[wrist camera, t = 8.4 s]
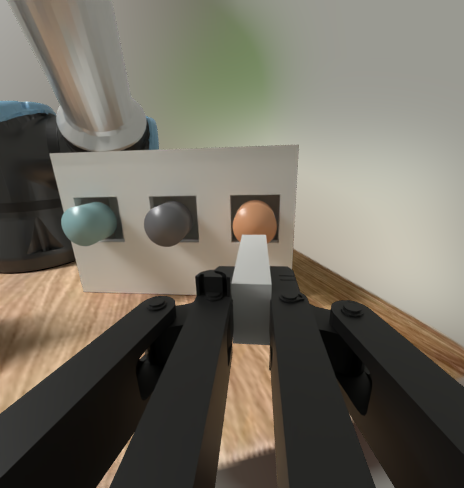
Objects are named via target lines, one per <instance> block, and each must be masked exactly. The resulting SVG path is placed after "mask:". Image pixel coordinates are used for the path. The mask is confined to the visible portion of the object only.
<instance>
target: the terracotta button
mask: <svg viewBox="0 0 464 488" xmlns="http://www.w3.org/2000/svg"><path fill="white" fill-rule="evenodd" d="M276 230H277V222H276V219H275V216H274V213H273V210H272V209H271V207H270V206H269V205H268V204H266V203H265V202H263V201H260V200H251V201H248V202H246V203H244V204H243V205H241V207H240V208H239V209H238V211H237V213H236V215H235V218H234V221H233V232H234V235H235V237H236V238H237V240H238V241H239V242H241V237H242V235H266V239H267V244H268V243H269V242H270V241H271V240H272V239H273V238H274V236H275V234H276Z"/></svg>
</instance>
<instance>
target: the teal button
mask: <svg viewBox="0 0 464 488" xmlns="http://www.w3.org/2000/svg"><path fill="white" fill-rule="evenodd" d="M61 225H62V229H63V231H64V233H65V235H66V236H67V237H68V239H69V240H71V241H72V242H73V243H75V244H77V245H80V246H90V245H93V244H95V243H97V242H99V241H101V240H103V239H105V238H107V237H109V236H111V235H112V234H113V233H114V232H115V230H116V227H117V219H116V216H115V214H114V212H113V211H112V210H111V209H110V208H109V207H108V206H107V205H105V204H103V203H100V202H92V203H88V204H84V205H80V206H75V207H71V208H69V209H67V210H66V211H65V212H64V214H63V216H62V219H61Z"/></svg>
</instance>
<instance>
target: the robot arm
mask: <svg viewBox="0 0 464 488" xmlns="http://www.w3.org/2000/svg"><path fill="white" fill-rule="evenodd" d="M7 1H8V4H9V6H10V7H11V9H12V11H13V13H14V15H15V17H16V19H17V21H18V23H19V25H20V27H21V29H22V31H23V33H24V35H25V37H26V39H27V41H28V43H29V45H30V46H31V48H32V51H33V53H34V55H35V56H36V58H37V60H38V62H39V64H40V66H41V68H42V70H43V72H44V74H45V76H46V78H47V80H48V82H49V84H50V86H51V87H52V90H53V92H54V93H55V95H56V98H57V100H58V102H59V103H60V107H59V108H58V111H57V116H56V113H55V112H54V111H53V109H52V108H51V107H49V106H47V105H44V104H40V103H35V102H18V101H0V272H2V273H14V272H26V271H33V270H39V269H45V268H49V267H54V266H58V265H62V264H65V263H68V262H71V261H74V260H76V259H75V255H74V251H73V247H72V243H71V240H69V239H68V237H67V236H66V235H65V233H64V231H63V229H62V225H61V219H62V216H63V214H64V211H63V207H62V203H61V199H60V195H59V191H58V187H57V182H56V178H55V174H54V170H53V166H52V162H51V158H50V154H49V153H77V152H105V151H133V150H159V144H158V132H157V126H156V122H155V120H154V119H152V118H149V117H147V116H146V115H145V113H144V111H143V108H142V107H141V106H140V104H139V103H138V102H137V101H136V100H134V99H133V98H132V97H131V93H130V89H129V83H128V78H127V73H126V68H125V63H124V58H123V53H122V48H121V43H120V38H119V33H118V28H117V23H116V18H115V13H114V8H113V3H112V0H7ZM195 281H196V294H197V296H196V298H195V301H194V302H193V303H190V304H185V305H179V306H175V300H174V299H173V298H171V297H168V296H155V297H153V298H150V299H147V300H145V301H144V302H142V303H141V304H139V305H138V306H137V307H136V308H134V309H133V310H132V311H131V312H129V313H128V314H127V315H125V316H124V317H123V318H122V319H120V320H119V321H118V322H117V323H115V324H114V325H113V326H111V327H110V328H109V329H108V330H106V331H105V332H104V333H103V334H101V335H100V336H99V337H97V338H96V339H95V340H94V341H92V342H91V343H90V344H89V345H87V346H86V347H85V348H83V349H82V350H81V351H80V352H78V353H77V354H76V355H75V356H73V357H72V358H71V359H69V360H68V361H67V362H66V363H64V364H63V365H62V366H60V367H59V368H58V369H57V370H55V371H54V372H53V373H52V374H50V375H49V376H48V377H46V378H45V379H44V380H43V381H41V382H40V383H39V384H38V385H36V386H35V387H34V388H32V389H31V390H30V391H29V392H27V393H26V394H25V395H24V396H22V397H21V398H20V399H18V400H17V401H16V402H15V403H13V404H12V405H11V406H10V407H8V408H7V409H6V410H4V411H3V412H2V413H1V414H0V488H96V487H97V485H98V484H99V483H100V481H101V480H102V478H103V477H104V475H105V474H106V472H107V471H108V470H109V468H110V467H111V465H112V464H113V462H114V461H115V459H116V458H117V457H118V455H119V454H120V452H121V451H122V449H123V448H124V446H125V445H126V444H127V442H128V441H129V439H130V438H131V436H132V435H133V433H134V432H135V433H134V435H133V437H132V439H131V441H130V444H129V446H128V448H127V450H126V452H125V455H124V457H123V459H122V461H121V463H120V466H119V468H118V470H117V472H116V474H115V476H114V479H113V481H112V483H111V485H110V487H109V488H215V483H216V475H217V467H218V460H219V452H220V444H221V437H222V429H223V421H224V414H225V406H226V398H227V390H228V383H229V375H230V367H231V360H232V339H233V343H238V344H258V345H270V364H269V370H271V384H272V401H273V418H274V435H275V452H276V469H277V486H278V488H376V487H375V484H374V482H373V479H372V476H371V473H370V470H369V468H368V465H367V462H366V459H365V457H364V454H363V451H362V448H361V446H360V443H359V440H358V438H357V434H356V432H355V429H354V426H353V423H352V421H351V418H350V415H351V417H352V418H353V420H354V422H355V423H356V425H357V427H358V428H359V430H360V431H361V433H362V435H363V436H364V438H365V440H366V441H367V443H368V444H369V446H370V448H371V449H372V451H373V452H374V454H375V456H376V458H377V459H378V461H379V463H380V464H381V466H382V467H383V469H384V471H385V472H386V474H387V476H388V477H389V479H390V481H391V482H392V484H393V485H394V487H395V488H464V387H463V386H462V385H461V384H459V383H458V382H457V381H456V380H455V379H453V378H452V377H451V376H450V375H449V374H447V373H446V372H445V371H444V370H443V369H441V368H440V367H439V366H438V365H437V364H436V363H434V362H433V361H432V360H431V359H430V358H428V357H427V356H426V355H425V354H424V353H422V352H421V351H420V350H419V349H418V348H416V347H415V346H414V345H413V344H412V343H410V342H409V341H408V340H407V339H406V338H404V337H403V336H402V335H401V334H400V333H398V332H397V331H396V330H395V329H394V328H392V327H391V326H390V325H389V324H388V323H386V322H385V321H384V320H383V319H382V318H380V317H379V316H378V315H377V314H376V313H374V312H373V311H372V310H371V309H369V308H368V307H366V306H365V305H363V304H360V303H357V302H355V301H349V300H346V301H345V300H341V301H337V302H334V303H333V304H332V305H331V310H328V309H323V308H319V307H315V306H313V305H311V304H309V301H308V299H307V297H306V296H305V295H304V294H302V293H300V290H299V287H298V284H297V281H296V278H295V275H294V272H293V270H292V269H290V268H289V267H288V266H270V265H269V257H268V248H267V239H266V235H242V237H241V242H240V246H239V251H238V255H237V260H236V264H235V266H219V267H217V268H216V269H214V270H206V271H202V272H200V273H198V274H197V275H196V276H195ZM144 352H145V355H144V356H143V357H142V358H141V359H139V358H140V357H141V355H142V354H143V353H144ZM349 414H350V415H349Z"/></svg>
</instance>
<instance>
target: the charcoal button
mask: <svg viewBox="0 0 464 488" xmlns="http://www.w3.org/2000/svg"><path fill="white" fill-rule="evenodd" d="M192 226H193V217H192V214H191V212H190V210H189V209H188V208H187V207H186V206H185V205H184V204H182V203H180V202H177V201H169V202H166V203H163V204H161V205H159V206H157V207H154V208H152V209H151V210H150V211H149V212H148V213H147V214H146V216H145V219H144V229H145V232H146V234H147V236H148V237H149V239H150V240H151V241H152V242H154V243H155V244H157V245H159V246H163V247H171V246H174V245H176V244H178V243H179V242H180V241H181V240H182V239H183V238H184V237H185V236H186V235H187V234H188V233H189V232H190V230H191V228H192Z"/></svg>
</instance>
